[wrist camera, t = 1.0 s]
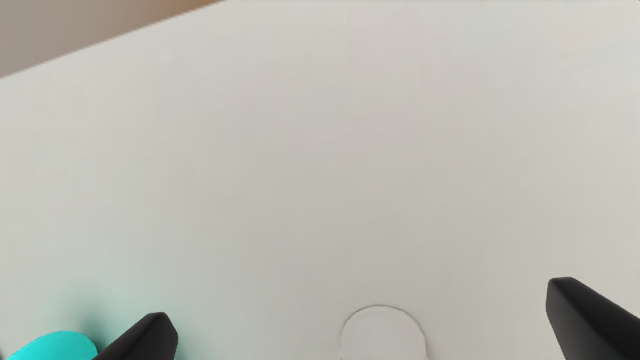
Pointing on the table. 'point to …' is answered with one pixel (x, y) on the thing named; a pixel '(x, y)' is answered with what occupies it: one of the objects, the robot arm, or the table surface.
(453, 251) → the table surface
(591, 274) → the table surface
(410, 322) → the beer glass
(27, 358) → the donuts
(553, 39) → the table surface
